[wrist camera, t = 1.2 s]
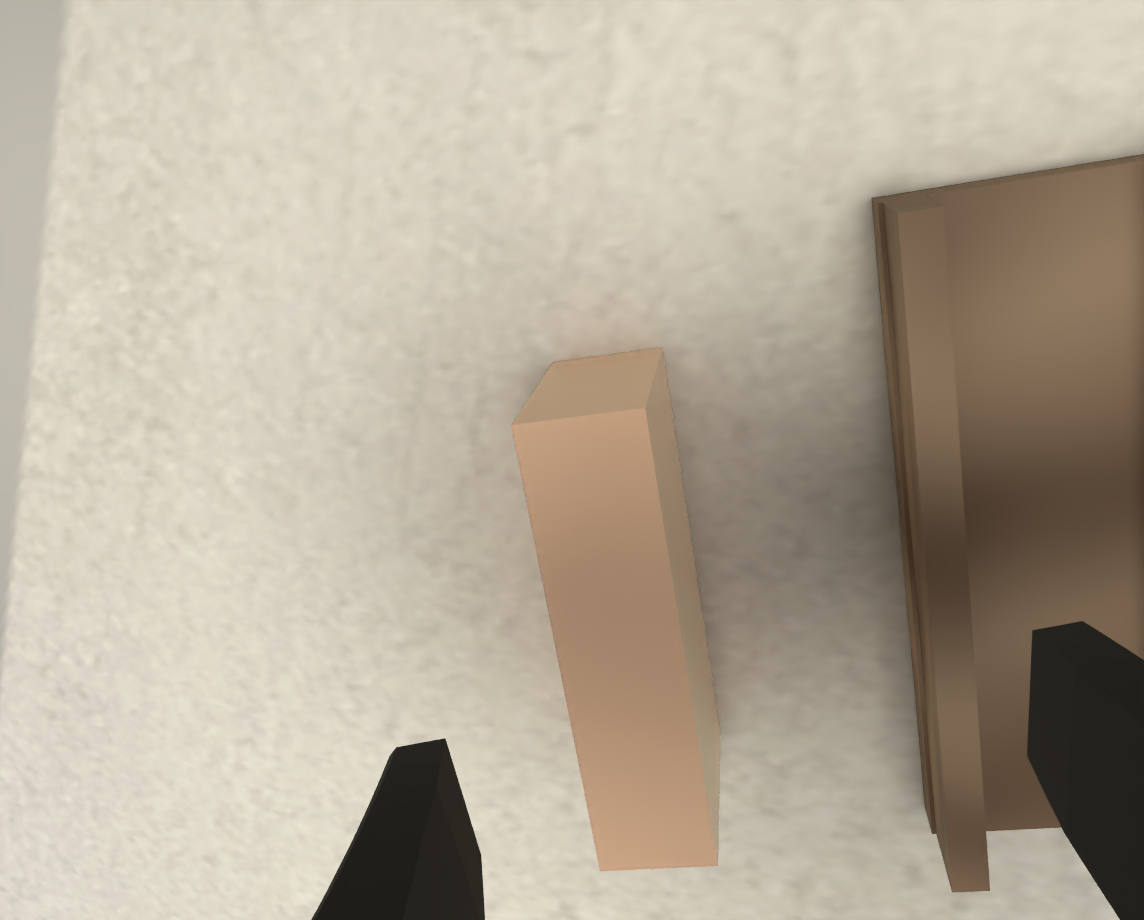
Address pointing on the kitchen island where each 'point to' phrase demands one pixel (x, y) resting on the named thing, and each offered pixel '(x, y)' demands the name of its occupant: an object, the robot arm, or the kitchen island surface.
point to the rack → (1011, 461)
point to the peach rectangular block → (625, 606)
